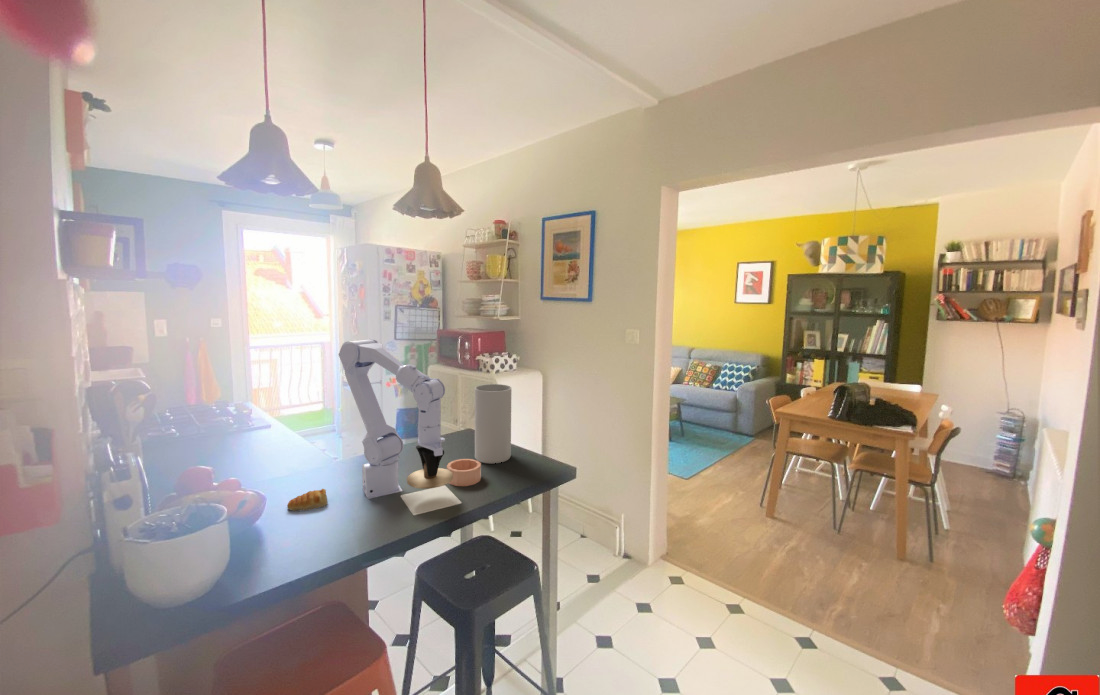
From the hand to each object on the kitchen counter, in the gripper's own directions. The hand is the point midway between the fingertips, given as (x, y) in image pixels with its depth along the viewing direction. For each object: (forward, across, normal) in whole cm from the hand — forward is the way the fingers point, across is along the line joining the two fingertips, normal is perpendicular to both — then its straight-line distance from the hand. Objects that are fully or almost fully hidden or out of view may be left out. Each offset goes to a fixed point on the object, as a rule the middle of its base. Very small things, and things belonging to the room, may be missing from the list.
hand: (430, 473), depth 119 cm
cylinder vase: (+8, +21, -29) cm, 37 cm away
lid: (+2, 0, 0) cm, 2 cm away
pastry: (+9, +14, +28) cm, 32 cm away
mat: (+8, 0, 0) cm, 8 cm away
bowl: (+8, +8, -13) cm, 17 cm away
